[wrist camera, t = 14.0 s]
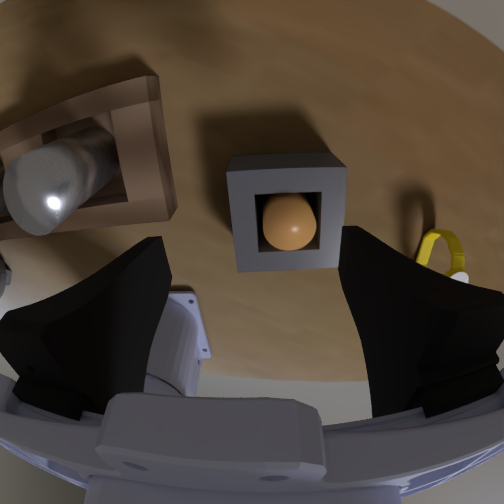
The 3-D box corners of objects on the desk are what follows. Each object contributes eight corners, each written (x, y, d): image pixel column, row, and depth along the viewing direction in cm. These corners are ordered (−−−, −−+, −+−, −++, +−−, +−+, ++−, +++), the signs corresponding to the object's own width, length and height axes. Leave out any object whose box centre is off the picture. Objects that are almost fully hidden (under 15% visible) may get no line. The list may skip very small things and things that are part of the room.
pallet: (177, 206, 22) (169, 220, 20) (-7, 232, 23) (-20, 243, 21) (158, 76, 16) (145, 75, 14) (-31, 151, 18) (-46, 159, 16)
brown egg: (307, 224, 21) (315, 249, 18) (263, 226, 21) (264, 251, 18) (307, 182, 19) (316, 201, 16) (260, 184, 20) (261, 204, 17)
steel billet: (126, 181, 20) (70, 232, 13) (77, 189, 20) (18, 238, 14) (114, 120, 18) (47, 146, 11) (64, 134, 18) (-5, 166, 11)
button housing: (328, 238, 23) (339, 267, 20) (240, 242, 23) (237, 272, 20) (331, 152, 19) (347, 167, 16) (231, 156, 20) (225, 171, 16)
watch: (424, 275, 25) (451, 316, 20) (402, 274, 25) (427, 318, 20) (445, 220, 22) (481, 256, 17) (422, 217, 22) (457, 254, 17)
